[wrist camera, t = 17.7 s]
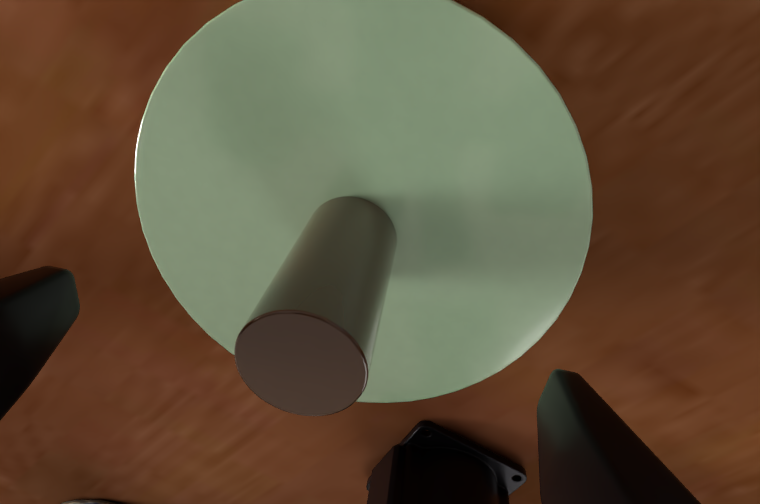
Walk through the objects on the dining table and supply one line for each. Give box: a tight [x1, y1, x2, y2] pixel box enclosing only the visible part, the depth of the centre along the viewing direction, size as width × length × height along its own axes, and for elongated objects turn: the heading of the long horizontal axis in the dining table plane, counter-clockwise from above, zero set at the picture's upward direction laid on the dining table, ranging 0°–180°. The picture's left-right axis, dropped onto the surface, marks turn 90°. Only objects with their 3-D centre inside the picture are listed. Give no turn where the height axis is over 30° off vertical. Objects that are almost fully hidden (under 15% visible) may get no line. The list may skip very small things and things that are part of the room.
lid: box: [134, 0, 593, 416], centre depth 11 cm, size 12×12×6 cm
